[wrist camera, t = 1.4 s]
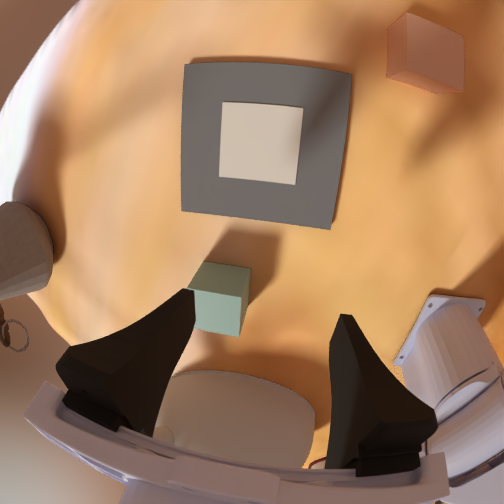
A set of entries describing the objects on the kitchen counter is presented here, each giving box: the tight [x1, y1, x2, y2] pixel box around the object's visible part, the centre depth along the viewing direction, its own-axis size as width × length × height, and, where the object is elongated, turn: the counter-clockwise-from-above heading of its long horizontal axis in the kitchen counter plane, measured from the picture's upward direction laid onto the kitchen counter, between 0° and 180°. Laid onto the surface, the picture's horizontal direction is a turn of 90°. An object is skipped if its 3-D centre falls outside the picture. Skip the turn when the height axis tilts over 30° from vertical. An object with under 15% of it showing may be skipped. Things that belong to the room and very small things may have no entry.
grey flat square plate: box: [181, 62, 352, 230], centre depth 17 cm, size 11×11×1 cm
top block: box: [386, 12, 465, 94], centre depth 11 cm, size 4×4×4 cm
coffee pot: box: [0, 202, 54, 352], centre depth 18 cm, size 21×12×15 cm, turn 94°
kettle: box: [152, 370, 316, 468], centre depth 25 cm, size 25×23×22 cm
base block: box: [187, 261, 251, 337], centre depth 22 cm, size 4×4×4 cm
